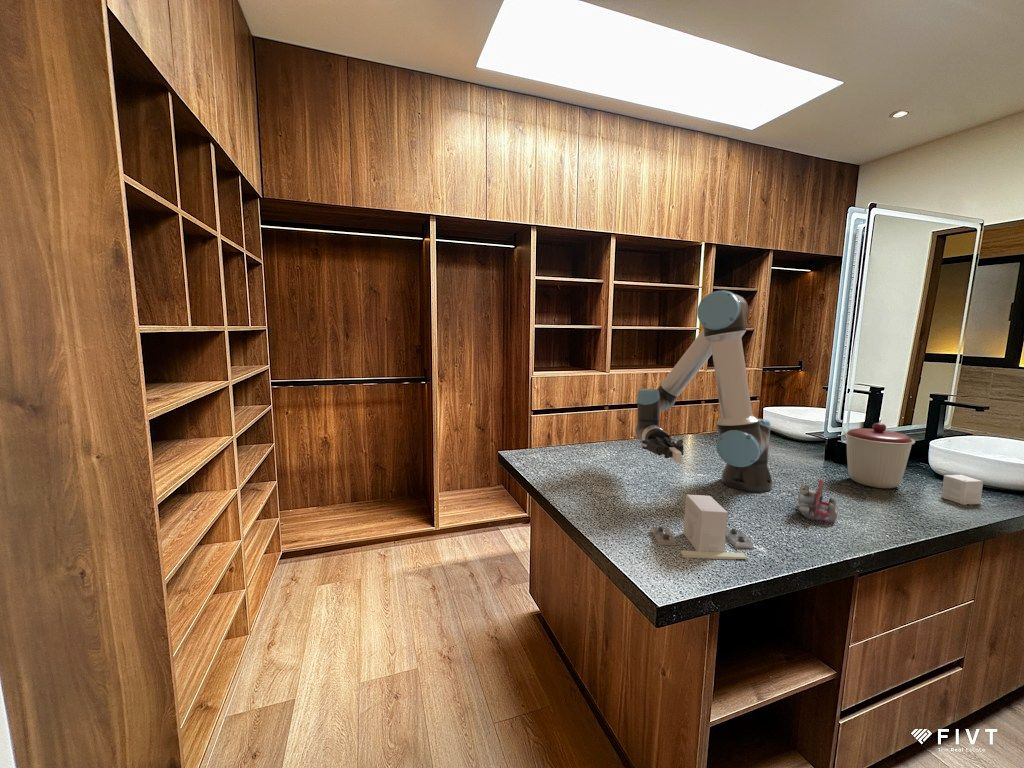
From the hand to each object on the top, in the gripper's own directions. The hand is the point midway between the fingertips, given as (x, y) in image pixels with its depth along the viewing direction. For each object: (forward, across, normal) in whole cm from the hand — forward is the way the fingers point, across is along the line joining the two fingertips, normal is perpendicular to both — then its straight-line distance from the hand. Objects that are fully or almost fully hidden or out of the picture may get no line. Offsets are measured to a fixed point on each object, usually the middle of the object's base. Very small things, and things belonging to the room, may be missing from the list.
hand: (678, 457), depth 116 cm
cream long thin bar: (+21, -1, -18) cm, 27 cm away
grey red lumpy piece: (-3, -38, -19) cm, 43 cm away
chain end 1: (+13, +8, -17) cm, 23 cm away
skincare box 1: (+15, -1, -18) cm, 23 cm away
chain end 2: (+13, -10, -18) cm, 24 cm away
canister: (-32, -75, -20) cm, 84 cm away
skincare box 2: (-18, -90, -21) cm, 94 cm away
